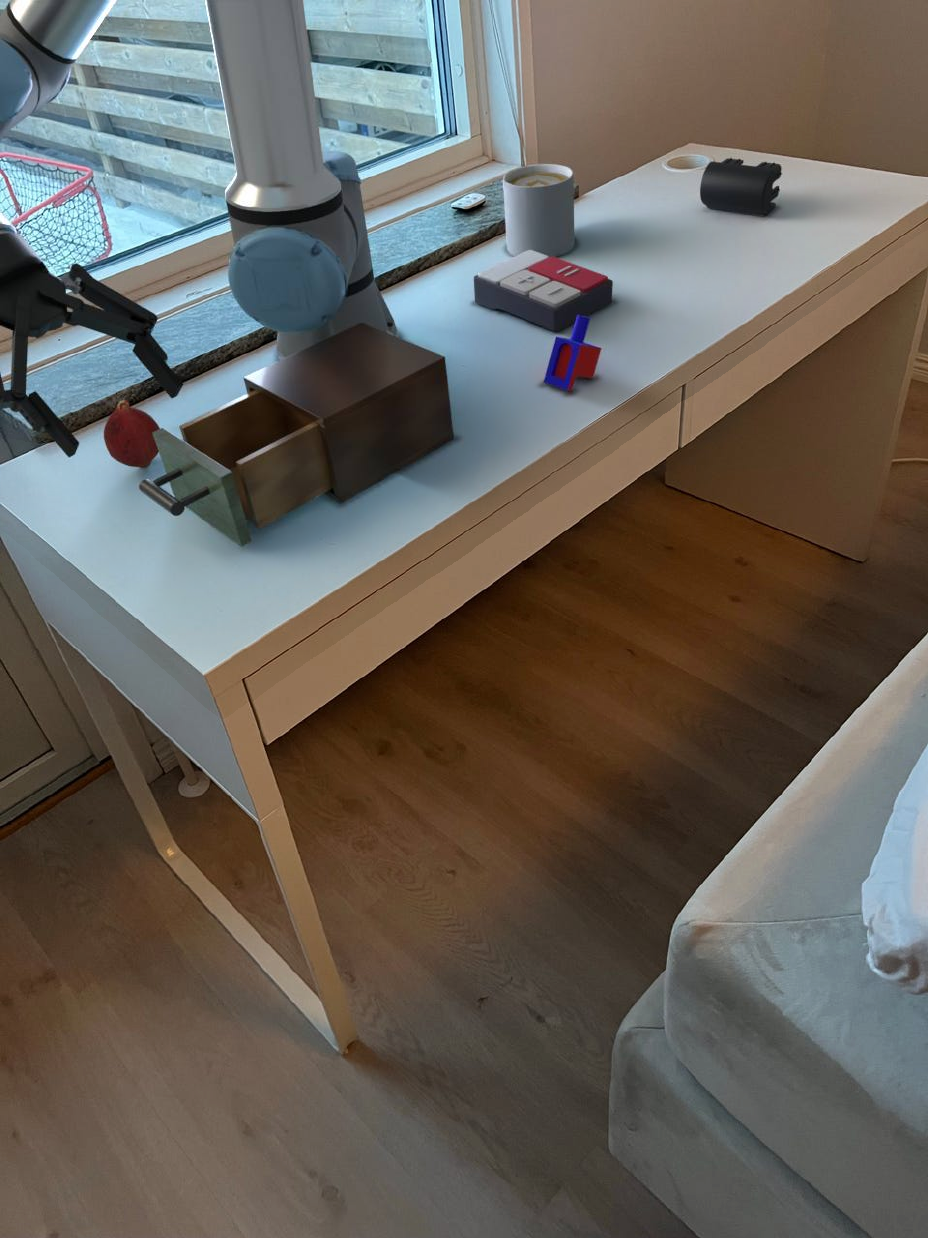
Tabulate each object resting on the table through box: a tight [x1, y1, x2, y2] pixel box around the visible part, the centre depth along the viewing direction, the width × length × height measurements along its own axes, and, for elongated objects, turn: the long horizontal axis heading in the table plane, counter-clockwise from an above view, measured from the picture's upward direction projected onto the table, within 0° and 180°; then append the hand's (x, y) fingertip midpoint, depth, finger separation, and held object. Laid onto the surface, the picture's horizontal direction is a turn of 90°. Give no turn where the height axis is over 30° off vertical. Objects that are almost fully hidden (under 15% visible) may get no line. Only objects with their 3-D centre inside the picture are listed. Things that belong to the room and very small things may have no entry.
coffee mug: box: [502, 163, 575, 258], centre depth 139 cm, size 13×10×10 cm
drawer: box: [138, 390, 333, 548], centre depth 94 cm, size 19×12×8 cm, turn 133°
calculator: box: [473, 250, 614, 332], centre depth 126 cm, size 11×4×15 cm
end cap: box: [699, 157, 783, 217], centre depth 143 cm, size 10×7×7 cm
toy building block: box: [543, 315, 602, 392], centre depth 109 cm, size 4×4×8 cm
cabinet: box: [242, 323, 455, 504], centre depth 101 cm, size 16×14×10 cm
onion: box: [103, 399, 161, 469], centre depth 102 cm, size 6×6×8 cm
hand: (128, 420), depth 101 cm, fingers open, 13 cm apart
